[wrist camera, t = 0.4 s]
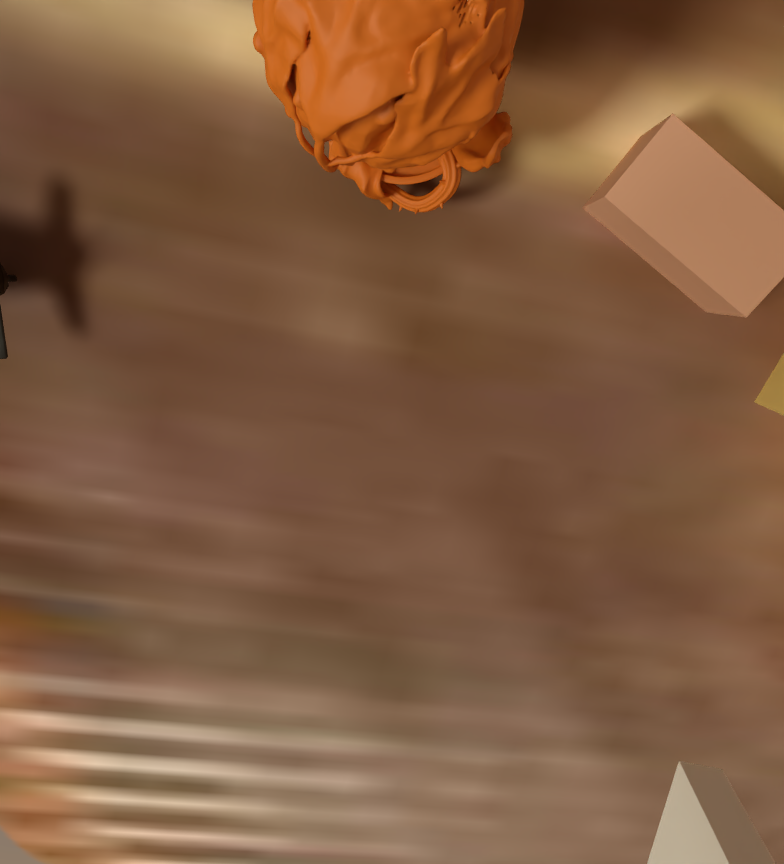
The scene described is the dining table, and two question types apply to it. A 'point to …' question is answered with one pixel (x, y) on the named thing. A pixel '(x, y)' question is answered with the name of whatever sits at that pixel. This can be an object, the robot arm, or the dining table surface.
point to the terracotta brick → (694, 219)
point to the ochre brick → (774, 390)
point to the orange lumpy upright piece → (393, 86)
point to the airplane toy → (0, 286)
